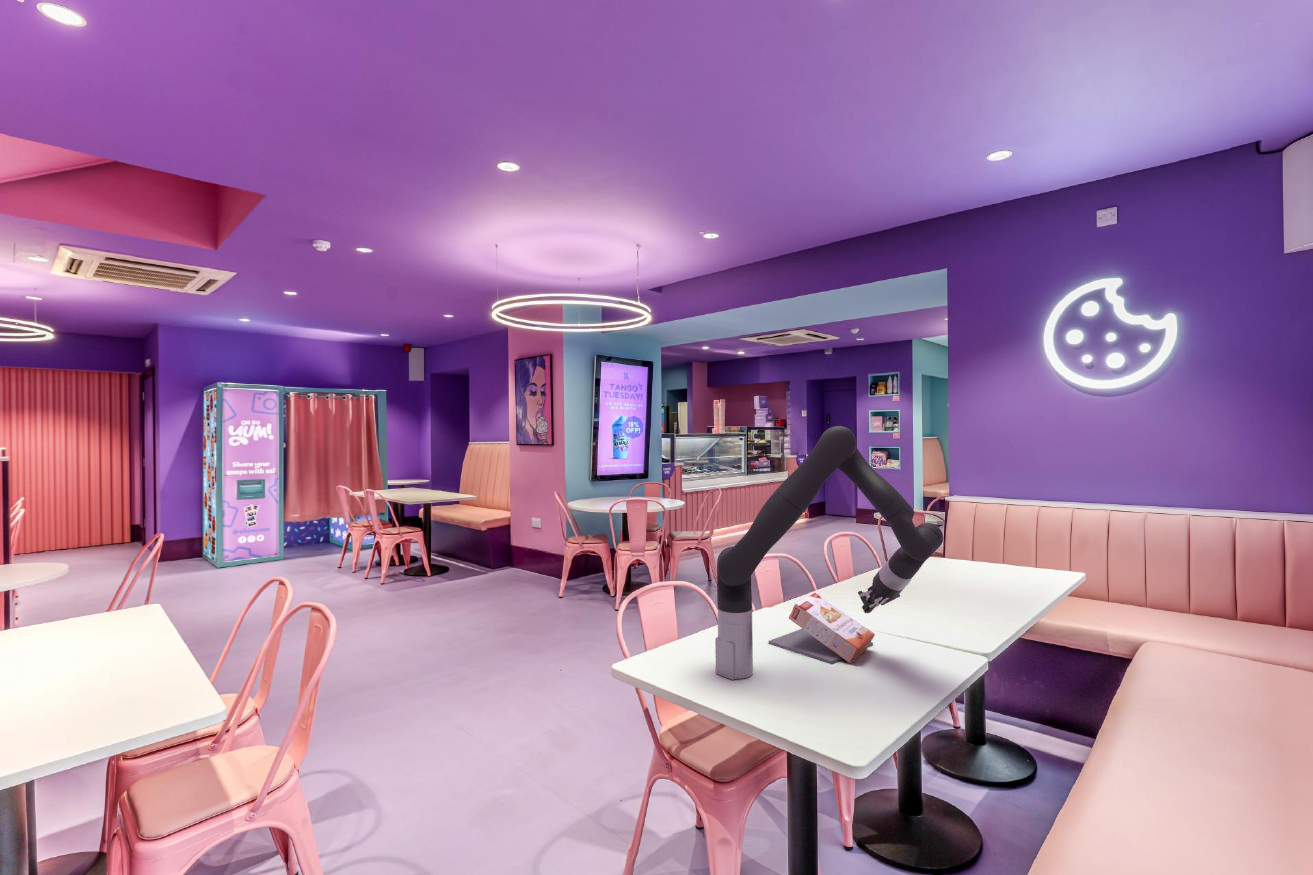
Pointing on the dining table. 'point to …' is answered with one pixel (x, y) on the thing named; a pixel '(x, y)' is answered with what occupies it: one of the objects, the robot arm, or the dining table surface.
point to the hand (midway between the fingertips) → (865, 610)
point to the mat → (806, 646)
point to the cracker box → (831, 627)
